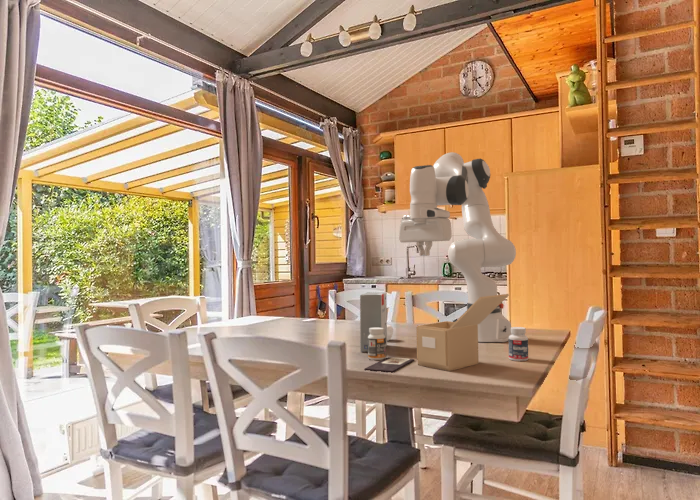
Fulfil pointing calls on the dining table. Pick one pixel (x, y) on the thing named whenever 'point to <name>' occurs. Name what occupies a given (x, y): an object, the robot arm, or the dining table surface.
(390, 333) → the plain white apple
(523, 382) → the dining table surface
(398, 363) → the chocolate bar
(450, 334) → the carton
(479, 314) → the flap
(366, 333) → the hard drive box
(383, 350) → the pill bottle
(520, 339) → the pill bottle
